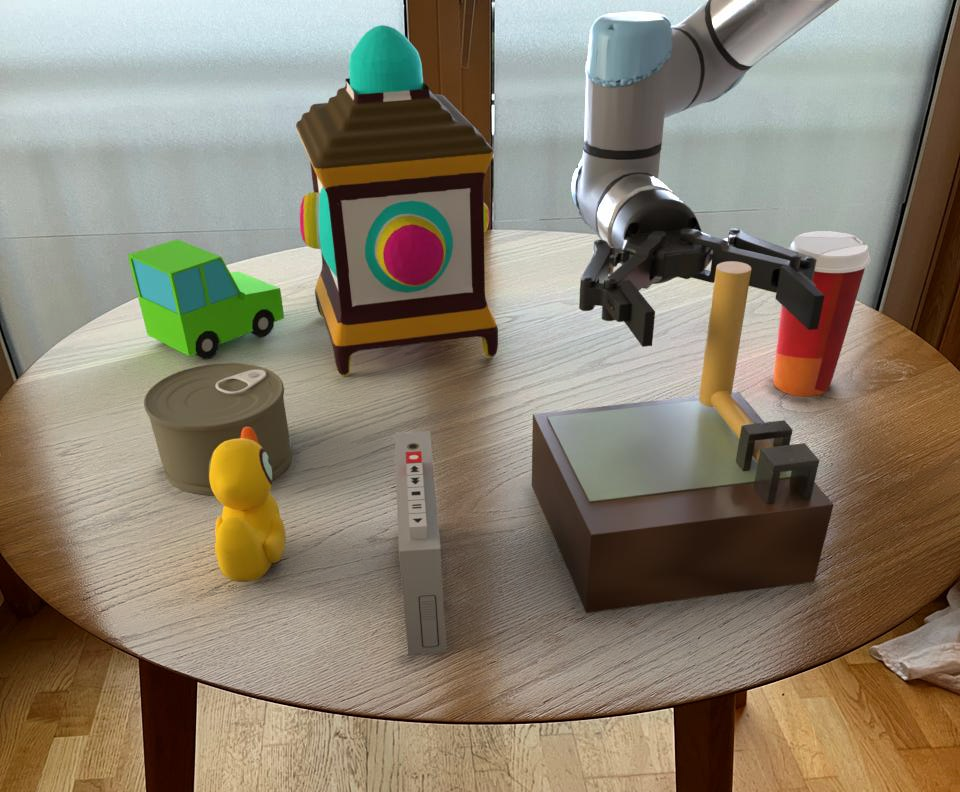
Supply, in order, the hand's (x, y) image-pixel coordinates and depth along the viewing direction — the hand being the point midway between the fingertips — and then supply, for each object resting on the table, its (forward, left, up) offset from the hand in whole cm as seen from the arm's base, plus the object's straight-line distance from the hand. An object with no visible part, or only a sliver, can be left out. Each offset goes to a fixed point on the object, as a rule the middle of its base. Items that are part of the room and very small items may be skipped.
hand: (733, 321), depth 76 cm
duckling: (+32, +22, -15) cm, 42 cm away
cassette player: (+18, +21, -15) cm, 32 cm away
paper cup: (-6, -22, -15) cm, 28 cm away
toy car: (+57, -15, -15) cm, 61 cm away
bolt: (-2, +3, -8) cm, 8 cm away
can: (+42, +9, -15) cm, 46 cm away
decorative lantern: (+37, -21, -15) cm, 46 cm away
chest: (+2, +8, -15) cm, 17 cm away
